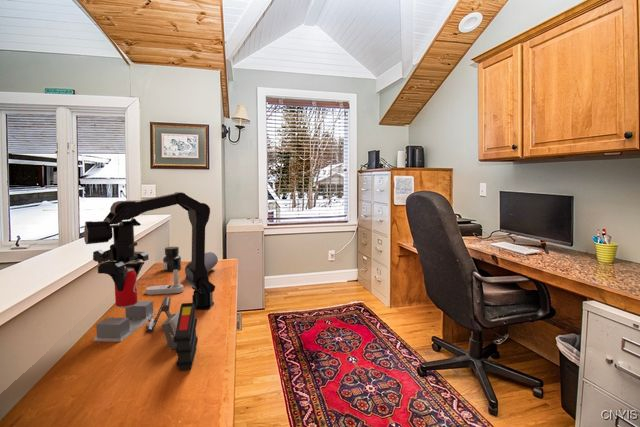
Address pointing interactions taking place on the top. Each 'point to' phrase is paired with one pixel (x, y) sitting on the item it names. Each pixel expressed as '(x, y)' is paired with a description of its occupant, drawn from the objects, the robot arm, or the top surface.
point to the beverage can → (127, 291)
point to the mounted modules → (123, 320)
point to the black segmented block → (186, 336)
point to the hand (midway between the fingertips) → (126, 287)
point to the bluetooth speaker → (207, 261)
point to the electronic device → (166, 287)
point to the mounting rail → (134, 324)
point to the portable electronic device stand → (163, 308)
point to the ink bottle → (171, 259)
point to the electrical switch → (171, 329)
